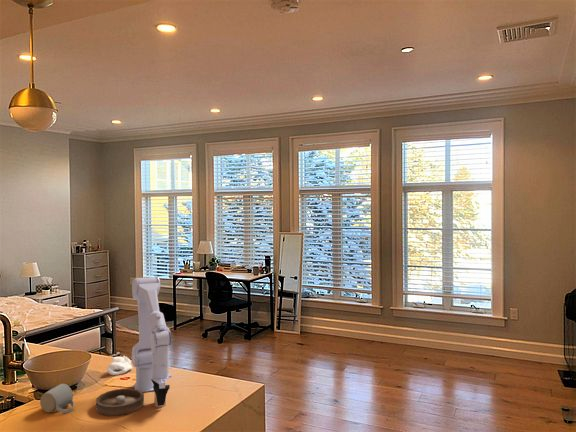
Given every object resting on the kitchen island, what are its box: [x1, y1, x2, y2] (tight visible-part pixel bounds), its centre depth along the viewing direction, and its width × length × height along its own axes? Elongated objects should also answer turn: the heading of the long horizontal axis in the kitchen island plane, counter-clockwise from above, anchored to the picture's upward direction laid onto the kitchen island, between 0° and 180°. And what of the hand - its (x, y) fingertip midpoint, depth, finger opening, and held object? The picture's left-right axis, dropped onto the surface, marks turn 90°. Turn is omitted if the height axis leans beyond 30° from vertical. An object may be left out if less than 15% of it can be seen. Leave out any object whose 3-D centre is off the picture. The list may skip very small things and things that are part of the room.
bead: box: [153, 392, 167, 408], centre depth 161 cm, size 4×4×5 cm
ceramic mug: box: [39, 383, 75, 414], centre depth 157 cm, size 11×8×8 cm
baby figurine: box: [106, 355, 133, 376], centre depth 195 cm, size 9×12×8 cm
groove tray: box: [95, 388, 145, 417], centre depth 160 cm, size 16×16×3 cm
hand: (160, 401), depth 161 cm, fingers open, 6 cm apart
